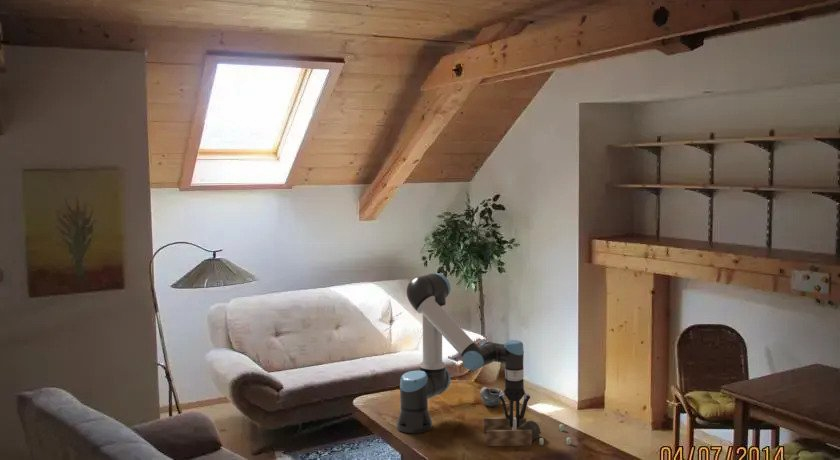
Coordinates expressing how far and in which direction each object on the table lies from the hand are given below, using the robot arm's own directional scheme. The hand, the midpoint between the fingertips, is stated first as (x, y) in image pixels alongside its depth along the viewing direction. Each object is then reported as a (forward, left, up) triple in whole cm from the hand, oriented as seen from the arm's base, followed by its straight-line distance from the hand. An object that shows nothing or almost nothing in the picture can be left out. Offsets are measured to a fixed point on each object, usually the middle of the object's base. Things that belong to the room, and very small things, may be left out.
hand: (514, 434), depth 309 cm
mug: (-6, +39, -2) cm, 40 cm away
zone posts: (+15, 0, -2) cm, 15 cm away
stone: (+6, 0, -2) cm, 6 cm away
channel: (-3, 0, -2) cm, 3 cm away
